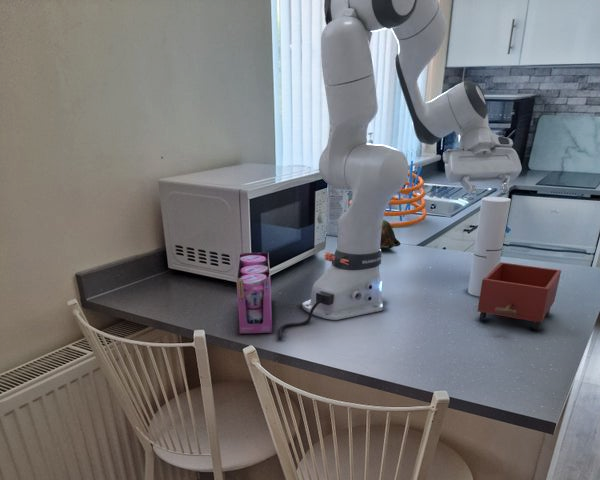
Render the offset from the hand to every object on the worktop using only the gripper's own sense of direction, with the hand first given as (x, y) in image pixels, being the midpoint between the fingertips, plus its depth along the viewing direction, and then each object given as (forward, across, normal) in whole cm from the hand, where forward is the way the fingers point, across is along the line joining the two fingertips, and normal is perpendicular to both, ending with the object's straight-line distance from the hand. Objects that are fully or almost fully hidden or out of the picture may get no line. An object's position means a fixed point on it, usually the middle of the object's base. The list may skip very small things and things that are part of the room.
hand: (488, 192), depth 141 cm
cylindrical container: (+21, 0, +16) cm, 26 cm away
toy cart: (+37, -3, 0) cm, 37 cm away
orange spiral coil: (-51, +6, +88) cm, 102 cm away
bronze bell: (-15, -15, +52) cm, 57 cm away
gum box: (+25, -64, +12) cm, 70 cm away
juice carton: (-35, -24, +72) cm, 84 cm away
